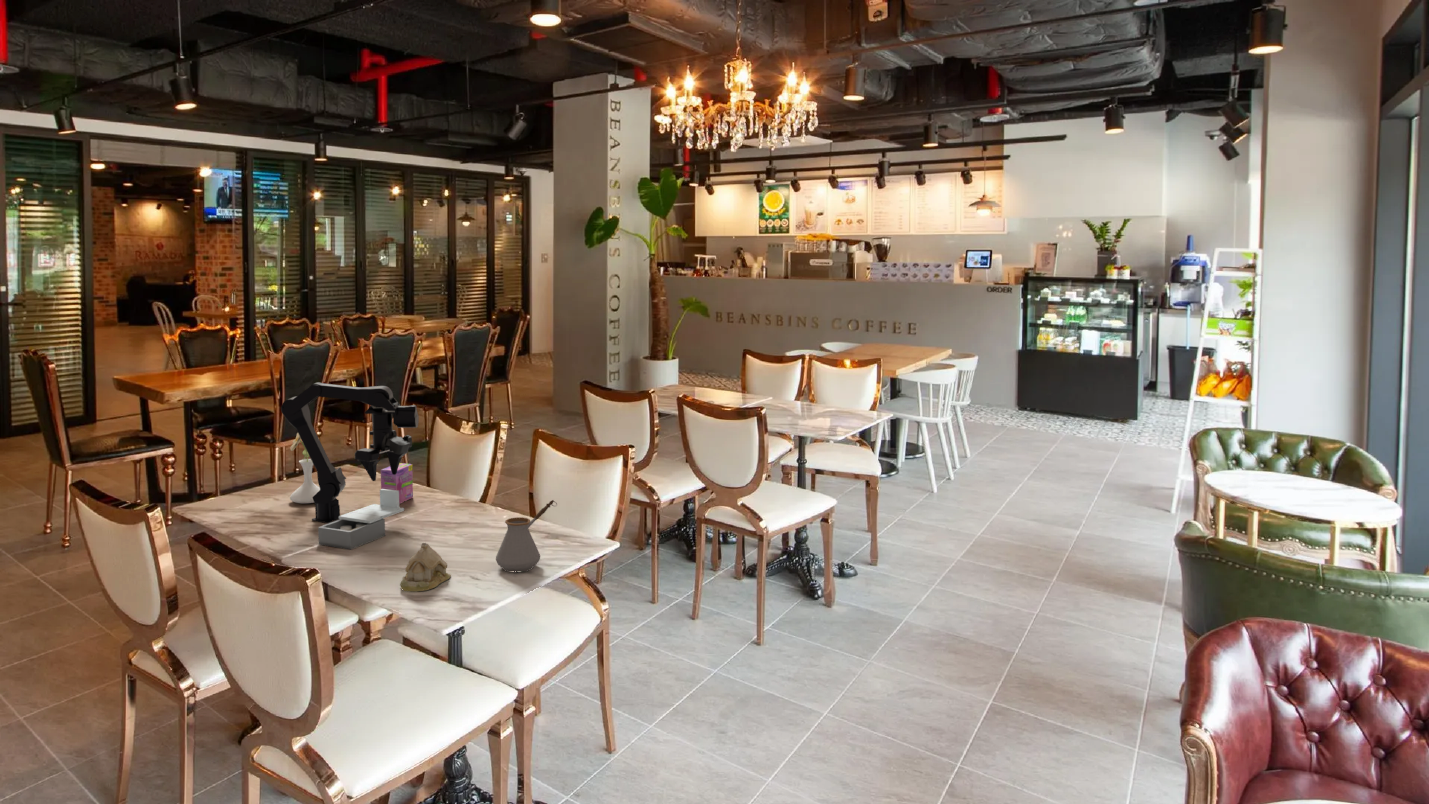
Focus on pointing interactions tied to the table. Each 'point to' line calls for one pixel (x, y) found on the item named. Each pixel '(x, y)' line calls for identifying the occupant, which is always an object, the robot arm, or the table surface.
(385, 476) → the box
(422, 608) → the table surface
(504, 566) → the coffee pot
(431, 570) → the ceramic model
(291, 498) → the flower in vase
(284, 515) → the table surface
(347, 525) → the tub
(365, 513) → the lid
